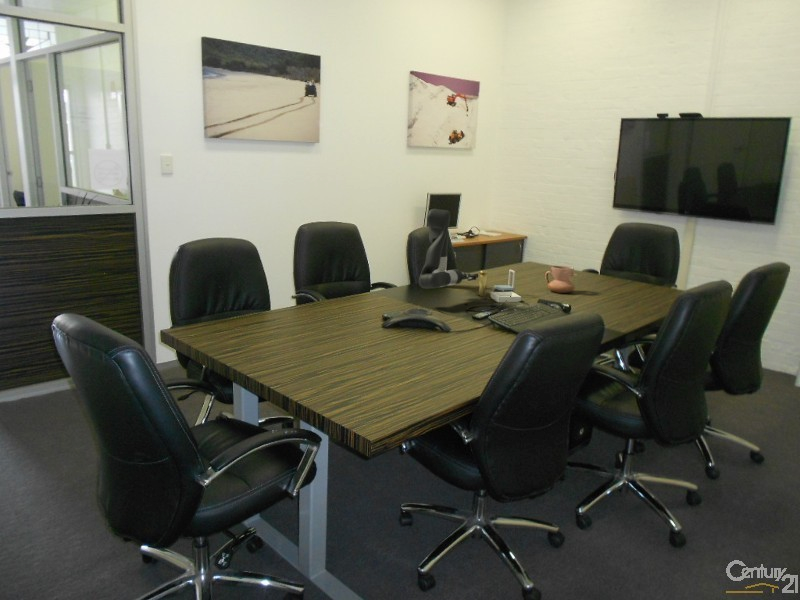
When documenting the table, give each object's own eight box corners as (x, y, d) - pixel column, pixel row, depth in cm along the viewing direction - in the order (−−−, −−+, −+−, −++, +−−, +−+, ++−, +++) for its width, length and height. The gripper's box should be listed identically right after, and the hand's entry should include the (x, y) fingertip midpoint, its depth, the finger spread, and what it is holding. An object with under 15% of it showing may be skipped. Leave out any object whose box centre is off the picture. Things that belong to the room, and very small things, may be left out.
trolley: (497, 296, 313) (499, 271, 310) (492, 293, 320) (494, 269, 317) (514, 296, 315) (516, 271, 312) (509, 293, 322) (511, 269, 319)
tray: (498, 302, 300) (498, 297, 299) (490, 297, 311) (490, 292, 311) (520, 302, 302) (521, 296, 301) (512, 296, 314) (512, 291, 313)
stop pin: (479, 296, 313) (480, 272, 310) (476, 294, 317) (478, 270, 314) (487, 296, 314) (489, 272, 311) (484, 294, 318) (486, 270, 315)
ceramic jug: (580, 292, 332) (582, 267, 329) (570, 295, 320) (572, 270, 318) (549, 288, 342) (551, 263, 340) (539, 291, 331) (541, 266, 328)
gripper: (463, 271, 287) (482, 269, 299) (440, 268, 297) (460, 265, 308) (462, 287, 289) (481, 283, 300) (439, 282, 298) (459, 279, 310)
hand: (470, 274), depth 304 cm, fingers open, 8 cm apart
